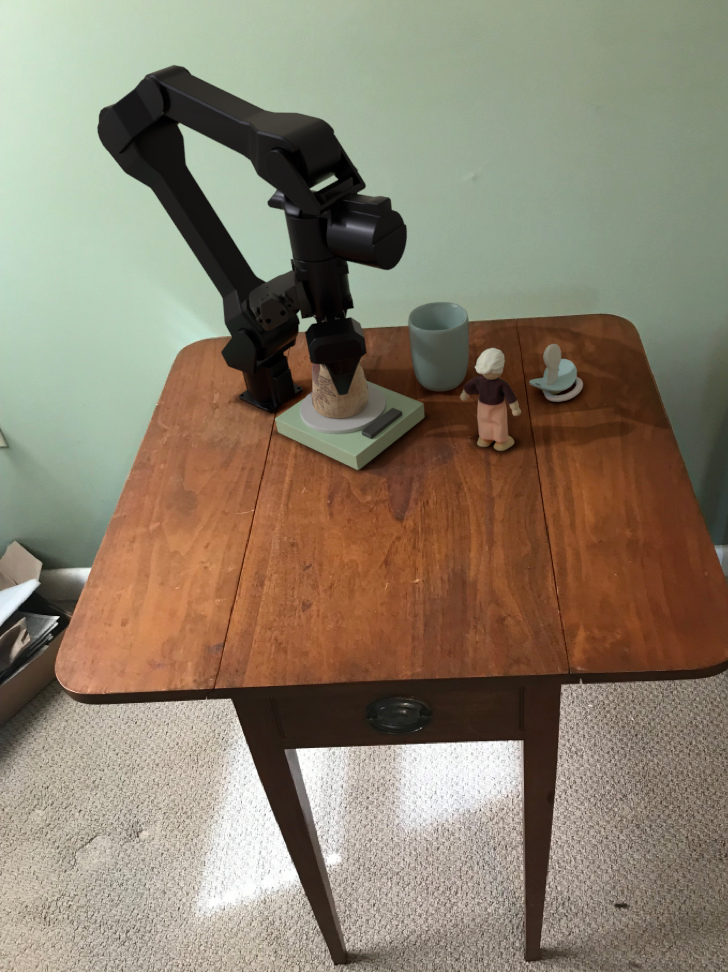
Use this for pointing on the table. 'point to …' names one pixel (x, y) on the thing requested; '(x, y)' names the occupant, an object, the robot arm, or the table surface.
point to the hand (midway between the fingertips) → (338, 374)
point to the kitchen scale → (353, 426)
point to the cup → (439, 345)
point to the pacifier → (557, 376)
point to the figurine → (327, 395)
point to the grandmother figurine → (492, 400)
